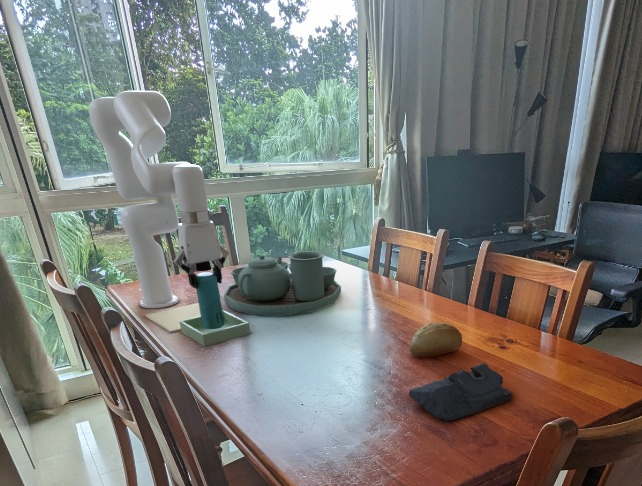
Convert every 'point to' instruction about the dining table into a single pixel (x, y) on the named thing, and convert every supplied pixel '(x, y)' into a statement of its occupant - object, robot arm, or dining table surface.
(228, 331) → the tray
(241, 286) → the tea set
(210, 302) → the beverage bottle
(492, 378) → the folded black shirt
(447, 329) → the bread roll
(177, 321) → the mat
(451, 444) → the dining table surface
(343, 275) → the dining table surface
